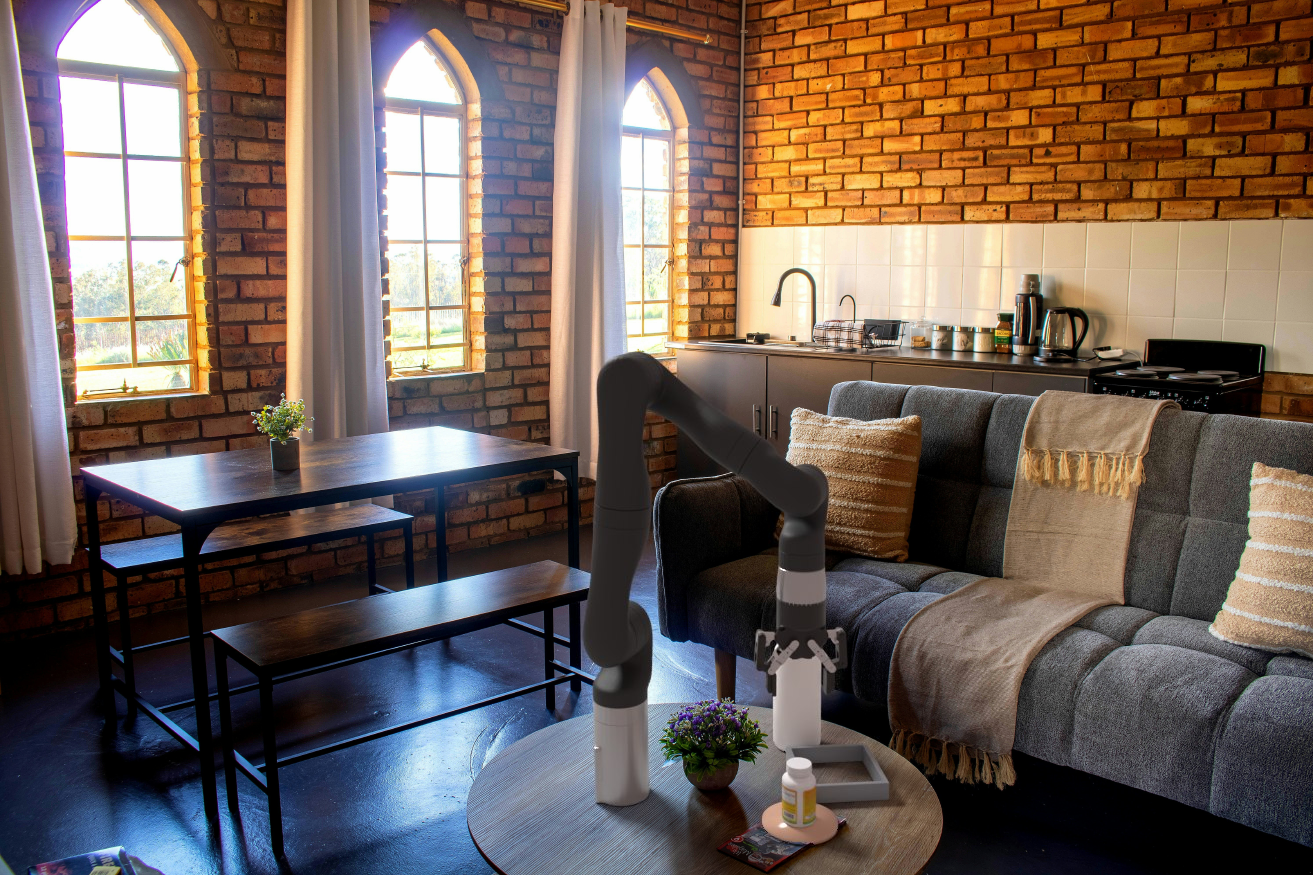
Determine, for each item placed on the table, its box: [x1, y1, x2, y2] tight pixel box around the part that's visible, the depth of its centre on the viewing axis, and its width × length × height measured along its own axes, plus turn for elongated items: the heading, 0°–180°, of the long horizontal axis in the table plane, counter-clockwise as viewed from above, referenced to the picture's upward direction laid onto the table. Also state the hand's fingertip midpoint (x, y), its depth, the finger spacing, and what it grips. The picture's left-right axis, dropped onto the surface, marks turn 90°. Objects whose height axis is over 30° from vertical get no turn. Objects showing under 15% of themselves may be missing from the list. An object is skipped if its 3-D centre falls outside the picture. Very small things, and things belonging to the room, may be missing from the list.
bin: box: [785, 742, 890, 804], centre depth 175 cm, size 15×15×3 cm
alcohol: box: [772, 643, 822, 753], centre depth 186 cm, size 9×9×30 cm
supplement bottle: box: [781, 757, 817, 828], centre depth 160 cm, size 5×5×10 cm
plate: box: [761, 801, 839, 845], centre depth 161 cm, size 12×12×1 cm
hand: (800, 693), depth 158 cm, fingers open, 8 cm apart
